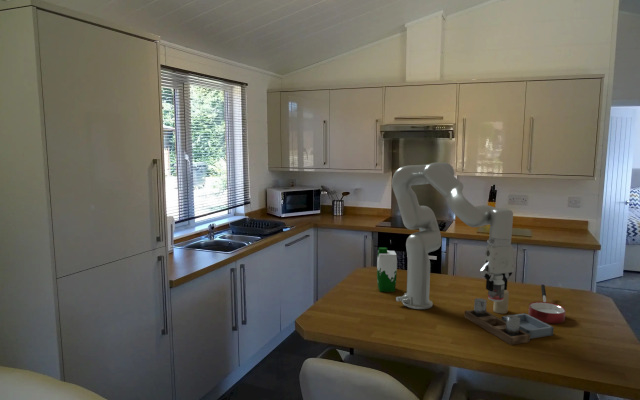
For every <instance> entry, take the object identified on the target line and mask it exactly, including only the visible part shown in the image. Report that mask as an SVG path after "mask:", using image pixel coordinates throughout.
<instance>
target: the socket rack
mask: <svg viewBox="0 0 640 400" xmlns="http://www.w3.org/2000/svg"><path fill="white" fill-rule="evenodd" d="M464 318H465V319H467V320H468V321H470V322H472V323H474V324H475V325H477V326H479V327H480V328H482V329H484V330H485V331H487V332H489V333H490V334H492V335H493V336H495V337H497V338H498V339H500V340H502V341H503V342H504V343H506V344H507V345H509V346H513V345H519V344H524V343H530V342H531V339H530V335H529V334H527V333H525V332H524V331H522V330H520V329H519V335H518V336H512V337H511V336H510V335H508V334H506V322H505V321H503V320H502V318H500V317H498V316H497V315H495V314H492V313H490V312H489V311H487V310H486V316H485V317H477V316H475V315H474V309H471V310H465V311H464ZM495 325H496V326H495Z"/></svg>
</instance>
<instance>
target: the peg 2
mask: <svg viewBox="0 0 640 400" xmlns="http://www.w3.org/2000/svg"><path fill="white" fill-rule="evenodd" d="M506 316H507V318H506V334H508V335H510V336H511V337H512V336H518V335H519V327H520V317H518V316H516V314H507V315H506Z"/></svg>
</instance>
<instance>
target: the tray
mask: <svg viewBox="0 0 640 400" xmlns="http://www.w3.org/2000/svg"><path fill="white" fill-rule="evenodd" d="M515 315H516V316H518V317H520V327H519V329H520V330H522V331H524V332H525V333H527V334H529V335H530V340H532V339H538V338H542V337H543V338H544V337H548V336H549V337H550V336H554V330H555V329H554V328H555V327H554V326H552V325H550V324H549V323H544V322H542V321H540V320H538V319H536V318H534V317H532V316H530V315H529V313H528V314H527V313H525V312H524V313H518V314H517V313H516V314H515ZM506 318H507V315H504V316H503V315H502V316H501V319H502V320H503V321H505V322H506Z"/></svg>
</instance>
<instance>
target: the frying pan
mask: <svg viewBox="0 0 640 400" xmlns="http://www.w3.org/2000/svg"><path fill="white" fill-rule="evenodd" d="M540 289H541V296H542V300H543V301H532V302H530V303H529V304H528V305H529V306H528V315H530V316H532V317H534V318H536V319H538V320H540V321H542V322H544V323H546V324H551V325H554V324H556V325H558V324H562V323H564V322H565V320H566V312H567V311H566V308H564V306H561V305H559V304H557V303H552V302H547V292H546V285H545V284H541V285H540Z"/></svg>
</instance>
